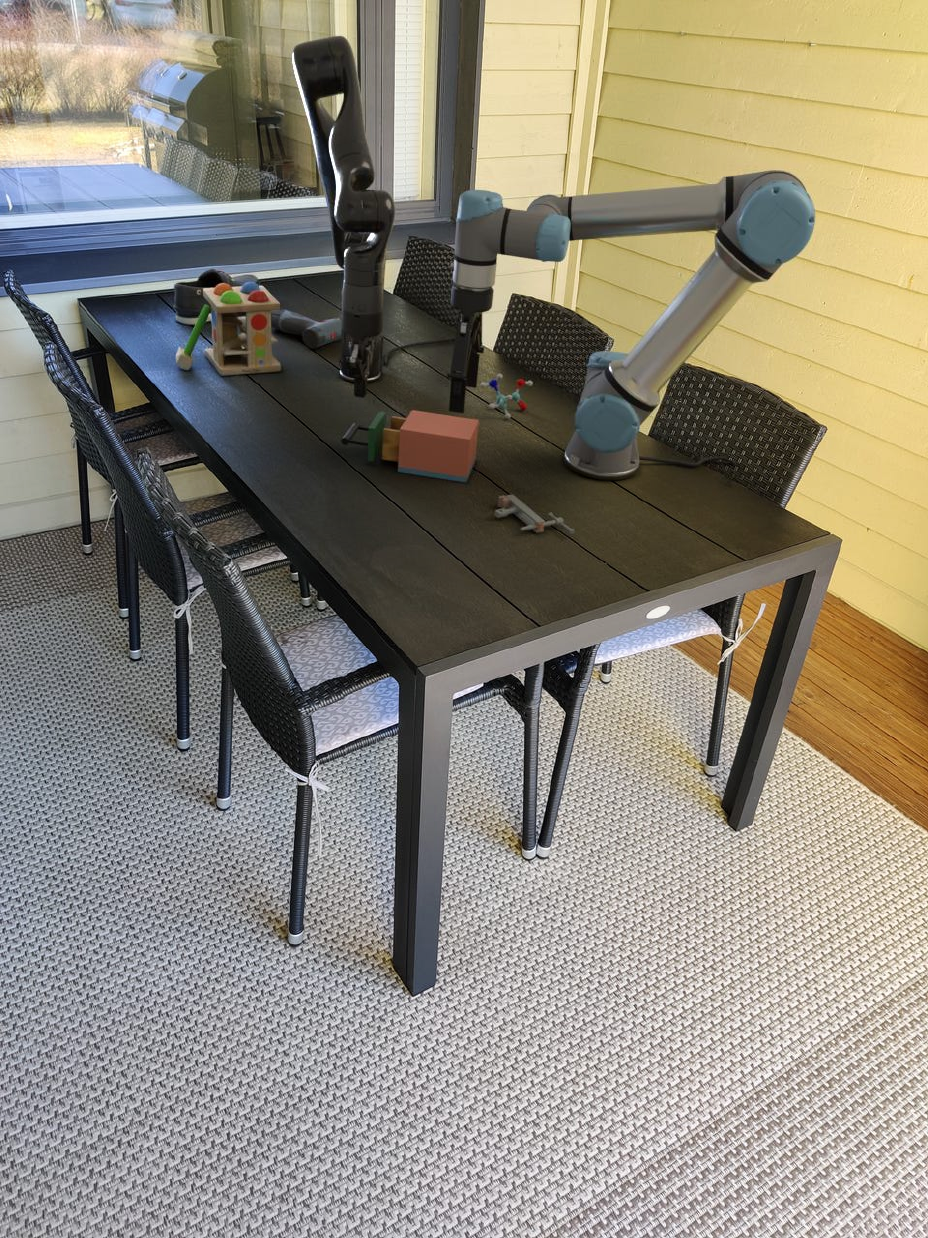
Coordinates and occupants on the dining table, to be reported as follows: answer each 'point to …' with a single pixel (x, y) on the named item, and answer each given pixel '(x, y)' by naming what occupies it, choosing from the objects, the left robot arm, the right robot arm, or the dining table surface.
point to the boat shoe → (191, 293)
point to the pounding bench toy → (229, 347)
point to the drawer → (379, 437)
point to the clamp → (526, 514)
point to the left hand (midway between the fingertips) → (360, 395)
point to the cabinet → (438, 445)
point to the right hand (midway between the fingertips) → (463, 398)
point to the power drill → (307, 327)
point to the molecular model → (501, 397)
